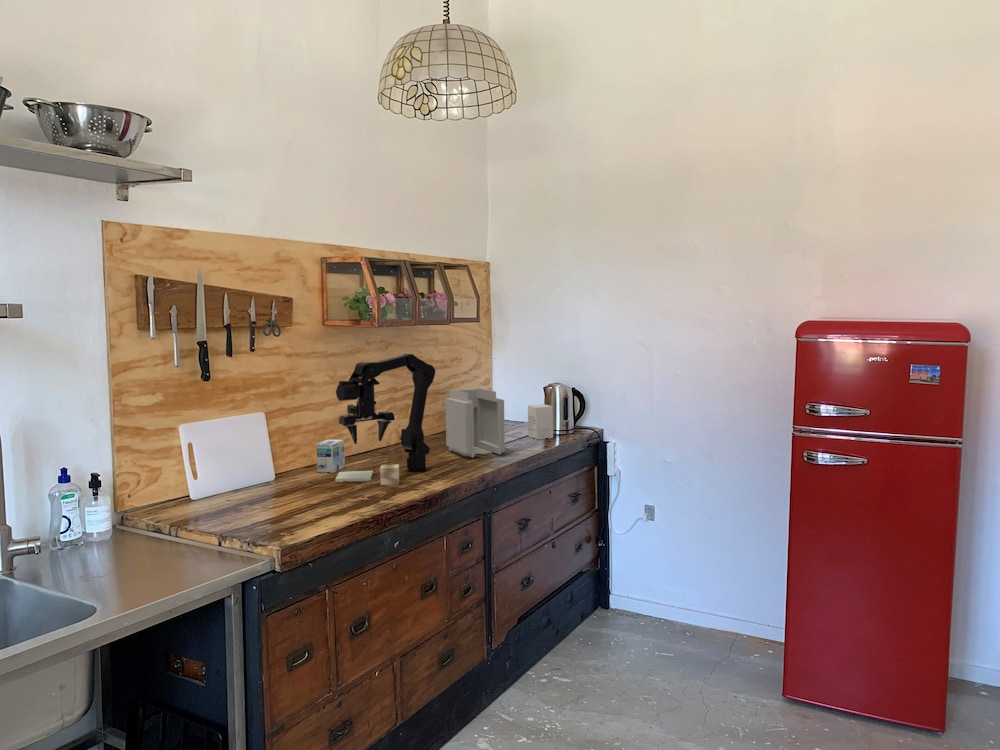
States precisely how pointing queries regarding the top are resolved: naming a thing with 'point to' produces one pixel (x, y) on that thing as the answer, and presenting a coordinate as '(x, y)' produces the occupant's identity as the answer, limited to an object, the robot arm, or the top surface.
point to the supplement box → (540, 421)
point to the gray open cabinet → (475, 422)
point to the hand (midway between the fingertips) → (367, 442)
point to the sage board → (354, 476)
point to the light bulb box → (330, 455)
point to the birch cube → (389, 474)
